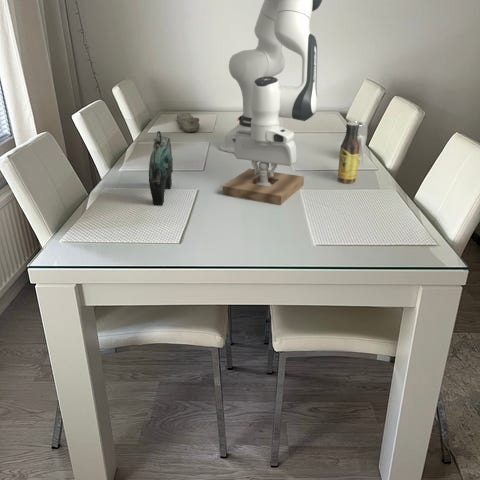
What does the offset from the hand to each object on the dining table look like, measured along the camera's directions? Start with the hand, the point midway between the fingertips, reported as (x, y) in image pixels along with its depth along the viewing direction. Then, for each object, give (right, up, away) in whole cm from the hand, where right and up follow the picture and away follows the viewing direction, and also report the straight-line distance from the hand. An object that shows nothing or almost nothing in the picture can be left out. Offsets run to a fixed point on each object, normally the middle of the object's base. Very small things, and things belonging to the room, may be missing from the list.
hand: (264, 175), depth 159 cm
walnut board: (0, -5, +2) cm, 5 cm away
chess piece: (0, -4, +2) cm, 4 cm away
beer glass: (+36, +8, +28) cm, 46 cm away
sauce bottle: (+29, -1, +9) cm, 30 cm away
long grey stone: (-34, +36, +87) cm, 100 cm away
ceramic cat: (-32, -7, -1) cm, 33 cm away
